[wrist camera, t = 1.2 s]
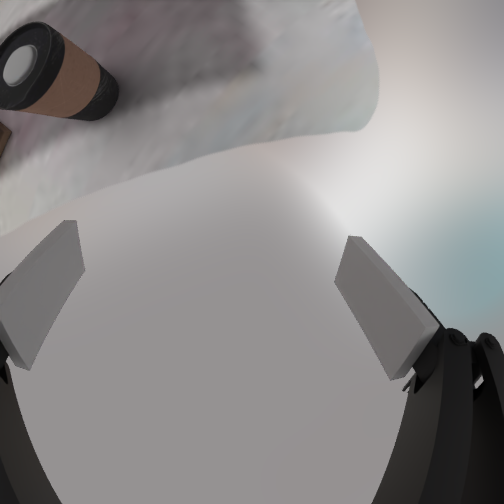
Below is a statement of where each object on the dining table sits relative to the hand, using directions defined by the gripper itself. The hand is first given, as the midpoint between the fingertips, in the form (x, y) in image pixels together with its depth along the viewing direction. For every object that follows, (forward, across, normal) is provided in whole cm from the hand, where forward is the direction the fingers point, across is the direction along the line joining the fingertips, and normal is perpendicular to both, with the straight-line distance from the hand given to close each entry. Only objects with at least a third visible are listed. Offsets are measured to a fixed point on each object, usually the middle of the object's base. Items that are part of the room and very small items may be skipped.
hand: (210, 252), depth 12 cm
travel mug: (+26, -18, +9) cm, 33 cm away
